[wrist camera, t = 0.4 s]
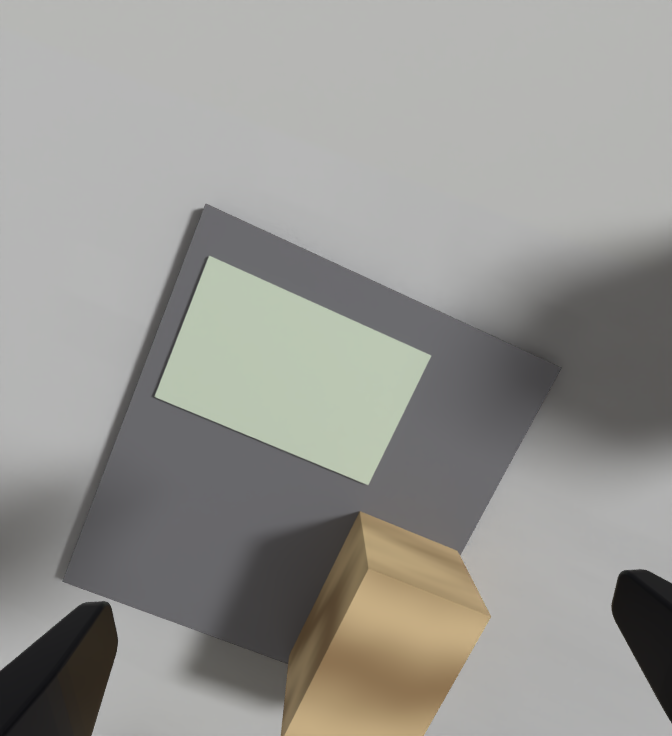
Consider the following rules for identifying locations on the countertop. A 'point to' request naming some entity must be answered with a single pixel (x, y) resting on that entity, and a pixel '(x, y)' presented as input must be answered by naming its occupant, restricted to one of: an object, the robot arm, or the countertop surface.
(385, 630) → the oak block
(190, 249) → the mat
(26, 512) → the countertop surface
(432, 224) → the countertop surface
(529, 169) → the countertop surface
